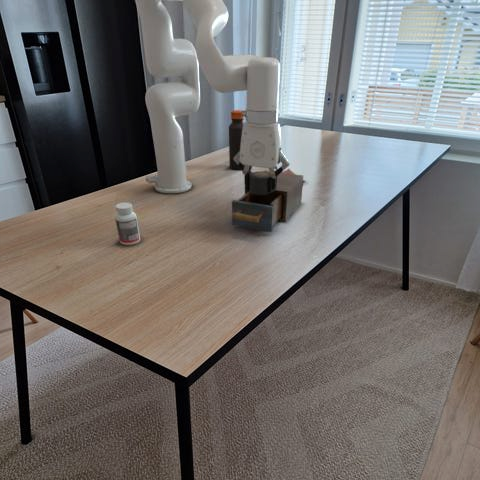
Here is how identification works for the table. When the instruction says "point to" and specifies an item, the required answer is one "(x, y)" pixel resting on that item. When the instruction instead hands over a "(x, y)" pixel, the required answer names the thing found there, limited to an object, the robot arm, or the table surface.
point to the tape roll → (259, 183)
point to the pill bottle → (127, 224)
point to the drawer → (257, 211)
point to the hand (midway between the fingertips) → (260, 189)
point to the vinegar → (235, 137)
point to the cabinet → (288, 192)
